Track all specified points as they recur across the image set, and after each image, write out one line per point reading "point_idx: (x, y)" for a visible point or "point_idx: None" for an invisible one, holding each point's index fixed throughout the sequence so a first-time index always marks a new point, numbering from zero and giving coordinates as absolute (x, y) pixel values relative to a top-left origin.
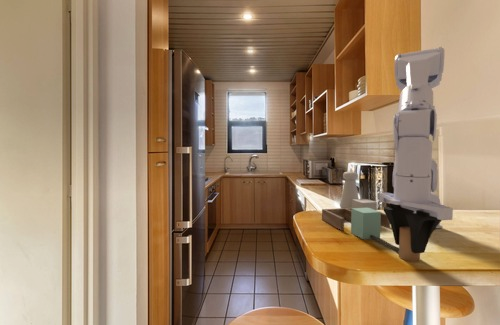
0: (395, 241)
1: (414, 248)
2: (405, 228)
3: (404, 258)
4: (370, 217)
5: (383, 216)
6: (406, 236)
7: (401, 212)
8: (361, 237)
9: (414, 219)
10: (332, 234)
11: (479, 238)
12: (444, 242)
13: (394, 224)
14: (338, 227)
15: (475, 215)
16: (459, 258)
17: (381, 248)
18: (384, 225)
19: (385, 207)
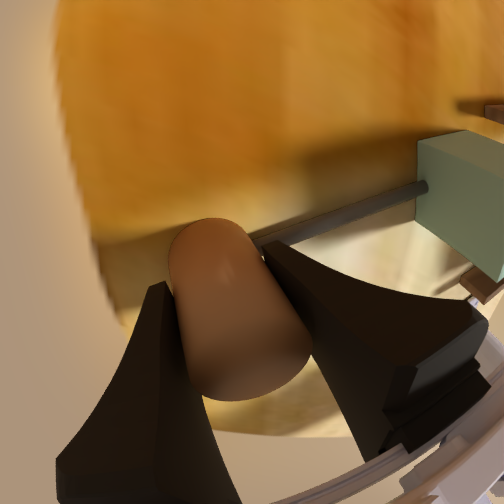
0: (280, 245)
1: (144, 300)
2: (267, 346)
3: (183, 233)
4: (493, 219)
5: (491, 285)
6: (198, 313)
7: (368, 412)
8: (427, 141)
9: (63, 471)
10: (462, 46)
11: (338, 424)
12: None
13: (323, 304)
14: (498, 106)
15: None
16: None
17: (322, 176)
18: (469, 272)
19: (481, 335)
